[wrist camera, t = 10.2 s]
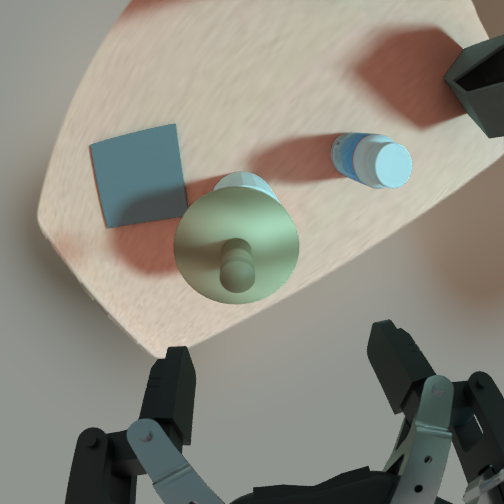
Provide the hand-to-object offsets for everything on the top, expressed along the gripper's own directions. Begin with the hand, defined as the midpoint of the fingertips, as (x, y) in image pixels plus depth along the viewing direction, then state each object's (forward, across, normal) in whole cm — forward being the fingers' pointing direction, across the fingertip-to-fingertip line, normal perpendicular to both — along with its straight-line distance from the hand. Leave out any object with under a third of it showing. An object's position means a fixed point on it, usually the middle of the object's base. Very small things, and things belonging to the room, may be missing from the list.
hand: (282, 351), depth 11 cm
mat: (+27, +14, -4) cm, 30 cm away
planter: (+28, -38, -19) cm, 50 cm away
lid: (+17, +2, +3) cm, 17 cm away
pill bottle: (+27, -14, -4) cm, 31 cm away
